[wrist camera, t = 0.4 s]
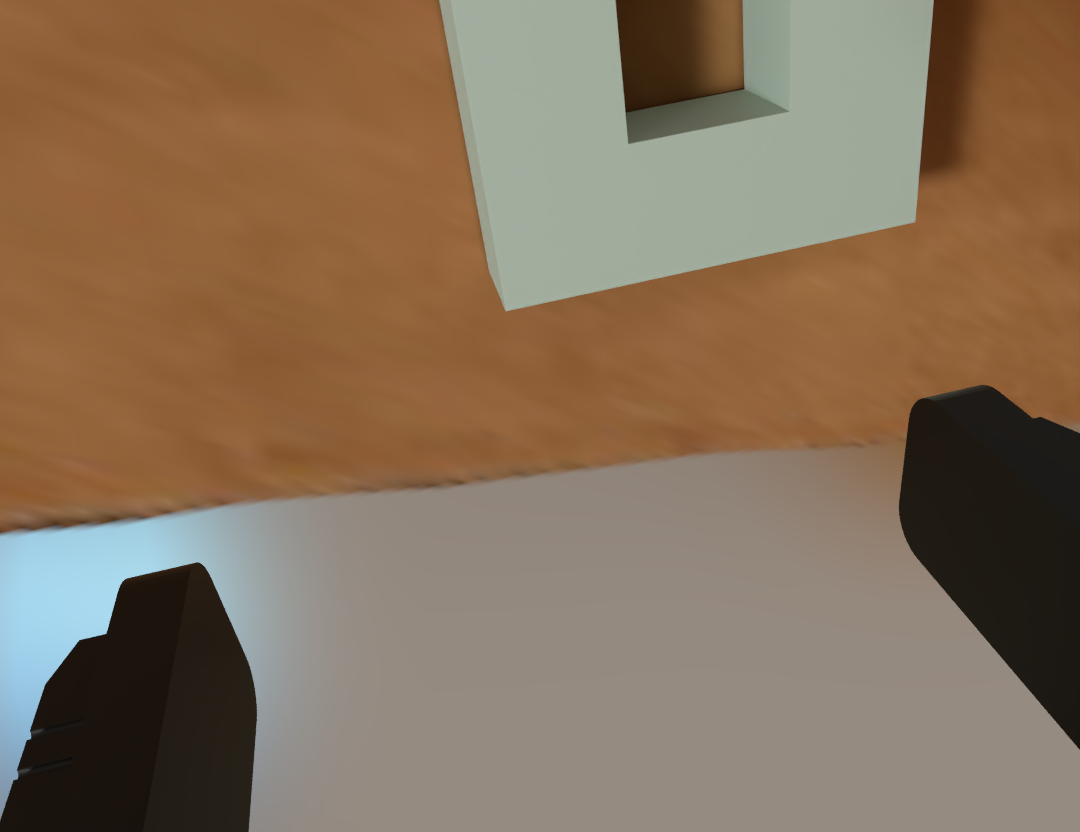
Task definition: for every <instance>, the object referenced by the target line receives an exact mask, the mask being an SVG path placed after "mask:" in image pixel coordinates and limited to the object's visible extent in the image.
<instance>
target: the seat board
mask: <svg viewBox="0 0 1080 832" xmlns="http://www.w3.org/2000/svg"><path fill="white" fill-rule="evenodd" d="M439 1H440V7H441V12H442V18H443V23H444V28H445V34H446V39H447V45H448V50H449V56H450V61H451V66H452V72H453V77H454V83H455V88H456V94H457V99H458V105H459V110H460V115H461V121H462V126H463V132H464V137H465V143H466V148H467V153H468V159H469V164H470V170H471V175H472V181H473V186H474V192H475V197H476V202H477V208H478V213H479V219H480V224H481V230H482V235H483V240H484V246H485V251H486V257H487V262H488V268H489V272H490V274H491V277H492V279H493V282H494V284H495V286H496V289H497V291H498V294H499V296H500V298H501V301H502V303H503V306H504V308H505V310H506V311H509V310H514V309H518V308H523V307H528V306H532V305H537V304H541V303H546V302H551V301H555V300H560V299H564V298H569V297H574V296H578V295H583V294H587V293H592V292H597V291H601V290H606V289H610V288H615V287H619V286H624V285H629V284H633V283H638V282H642V281H647V280H652V279H656V278H661V277H665V276H670V275H675V274H679V273H684V272H688V271H693V270H698V269H702V268H707V267H711V266H716V265H721V264H725V263H730V262H734V261H739V260H744V259H748V258H753V257H757V256H762V255H767V254H771V253H776V252H780V251H785V250H789V249H794V248H799V247H803V246H808V245H812V244H817V243H822V242H826V241H831V240H835V239H840V238H845V237H849V236H854V235H858V234H863V233H868V232H872V231H877V230H881V229H886V228H891V227H895V226H900V225H904V224H909V223H914V222H915V218H916V206H917V194H918V182H919V170H920V159H921V147H922V135H923V123H924V111H925V99H926V87H927V75H928V63H929V51H930V39H931V27H932V15H933V3H934V0H743V42H744V89H743V90H738V91H732V92H727V93H722V94H717V95H712V96H707V97H702V98H697V99H692V100H687V101H682V102H677V103H672V104H667V105H662V106H657V107H652V108H647V109H642V110H637V111H632V112H627V113H625V102H624V91H623V80H622V68H621V57H620V46H619V34H618V23H617V12H616V0H439Z"/></svg>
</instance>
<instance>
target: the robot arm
mask: <svg viewBox="0 0 1080 832" xmlns="http://www.w3.org/2000/svg"><path fill="white" fill-rule="evenodd" d="M899 515H900V521H901V525H902V529H903V532H904V535H905V538H906V540H907V542H908V544H909V546H910V548H911V550H912V552H913V553H914V555H915V556H916V557H917V559H918V560H919V561H920V562H921V563H922V565H924V567H925V568H926V569H927V570H928V571H929V573H930V574H931V575H932V576H933V578H934V579H935V580H936V581H937V582H938V583H939V585H940V586H941V587H942V588H943V589H944V590H945V592H946V593H947V594H948V595H949V596H950V597H951V599H952V600H953V601H954V602H955V603H956V605H957V606H958V607H959V608H960V609H961V610H962V612H963V613H964V614H965V615H966V616H967V617H968V619H969V620H970V621H971V622H972V623H973V625H974V626H975V627H976V628H977V629H978V630H979V632H980V633H981V634H982V635H983V636H984V638H985V639H986V640H987V641H988V642H989V643H990V645H991V646H992V647H993V648H994V649H995V650H996V652H997V653H998V654H999V655H1000V656H1001V657H1002V659H1003V660H1004V661H1005V662H1006V663H1007V665H1008V666H1009V667H1010V668H1011V669H1012V670H1013V672H1014V673H1015V674H1016V675H1017V676H1018V678H1019V679H1020V680H1021V681H1022V682H1023V683H1024V685H1025V686H1026V687H1027V688H1028V689H1029V690H1030V692H1031V693H1032V694H1033V695H1034V696H1035V698H1036V699H1037V700H1038V701H1039V702H1040V703H1041V705H1042V706H1043V707H1044V708H1045V709H1046V710H1047V712H1048V713H1049V714H1050V715H1051V716H1052V718H1053V719H1054V720H1055V721H1056V722H1057V723H1058V725H1059V726H1060V727H1061V728H1062V729H1063V730H1064V731H1065V733H1066V734H1067V735H1068V736H1069V738H1070V739H1071V740H1072V741H1073V742H1074V743H1075V744H1076V746H1077V747H1078V748H1079V749H1080V433H1078V432H1075V431H1073V430H1071V429H1068V428H1066V427H1063V426H1061V425H1059V424H1056V423H1054V422H1052V421H1049V420H1047V419H1044V418H1042V417H1038V418H1034V419H1033V418H1032V417H1030V416H1029V415H1028V414H1027V413H1025V412H1024V411H1023V410H1022V409H1020V408H1019V407H1018V406H1017V405H1015V404H1014V403H1013V402H1011V401H1010V400H1009V399H1008V398H1006V397H1005V396H1004V395H1003V394H1001V393H1000V392H999V391H997V390H996V389H994V388H993V387H990V386H987V385H980V386H975V387H970V388H966V389H962V390H957V391H953V392H949V393H944V394H940V395H936V396H931V397H927V398H922V399H920V400H918V401H917V402H916V403H915V404H914V405H913V407H912V409H911V412H910V417H909V423H908V432H907V440H906V449H905V458H904V466H903V474H902V483H901V492H900V500H899ZM256 722H257V705H256V695H255V688H254V683H253V678H252V674H251V670H250V666H249V663H248V661H247V658H246V656H245V654H244V652H243V649H242V647H241V644H240V642H239V640H238V638H237V636H236V633H235V631H234V629H233V626H232V624H231V622H230V620H229V617H228V615H227V613H226V611H225V608H224V606H223V604H222V602H221V600H220V597H219V595H218V592H217V590H216V588H215V586H214V584H213V581H212V579H211V577H210V575H209V573H208V571H207V570H206V568H205V567H204V566H203V565H202V564H200V563H193V564H188V565H184V566H180V567H176V568H171V569H167V570H162V571H159V572H154V573H149V574H145V575H140V576H137V577H132V578H128V579H125V580H124V581H123V582H122V584H121V585H120V588H119V591H118V594H117V598H116V601H115V605H114V609H113V612H112V616H111V620H110V623H109V627H108V631H107V634H105V635H100V636H96V637H92V638H87V639H83V640H79V642H78V643H77V644H76V645H75V647H74V648H73V649H72V651H71V652H70V653H69V655H68V656H67V657H66V658H65V660H64V661H63V662H62V664H61V665H60V666H59V668H58V669H57V670H56V671H55V673H54V674H53V675H52V677H51V678H50V679H49V681H48V682H47V683H46V685H45V687H44V690H43V693H42V696H41V699H40V702H39V705H38V708H37V711H36V714H35V717H34V720H33V723H32V726H31V730H30V732H31V739H30V740H27V741H26V745H25V748H24V751H23V754H22V757H21V760H20V763H19V766H18V769H17V771H18V774H19V775H18V779H17V780H14V781H13V784H12V787H11V790H10V793H9V796H8V799H7V802H6V805H5V808H4V811H3V814H2V817H1V820H0V832H248V830H249V817H250V804H251V790H252V777H253V763H254V749H255V736H256Z"/></svg>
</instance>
